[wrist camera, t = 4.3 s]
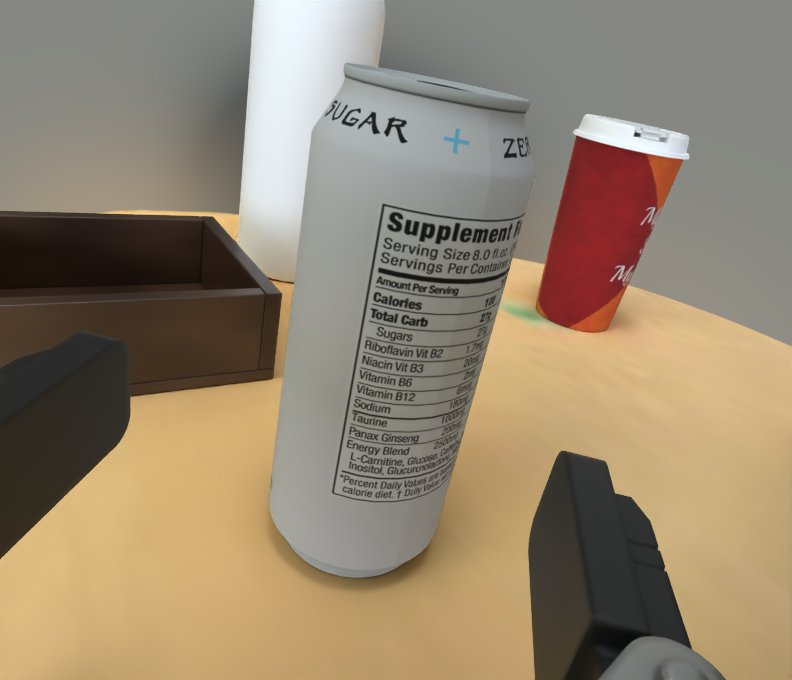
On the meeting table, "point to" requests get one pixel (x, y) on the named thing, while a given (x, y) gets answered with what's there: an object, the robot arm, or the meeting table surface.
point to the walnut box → (138, 295)
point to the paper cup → (606, 217)
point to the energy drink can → (392, 310)
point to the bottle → (293, 112)
